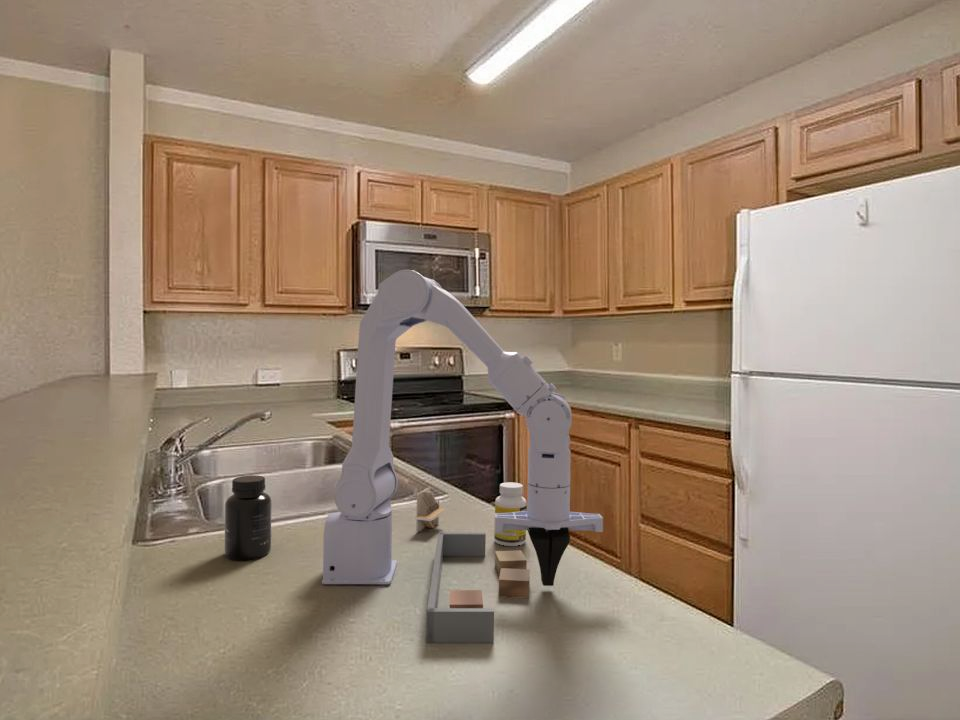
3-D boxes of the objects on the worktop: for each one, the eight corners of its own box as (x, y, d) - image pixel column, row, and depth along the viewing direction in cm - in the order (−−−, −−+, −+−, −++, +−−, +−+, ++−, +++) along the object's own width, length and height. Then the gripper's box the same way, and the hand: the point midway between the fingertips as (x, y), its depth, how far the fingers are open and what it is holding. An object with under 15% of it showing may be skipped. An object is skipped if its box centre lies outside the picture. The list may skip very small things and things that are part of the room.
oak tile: (499, 578, 81) (499, 561, 81) (494, 567, 85) (495, 551, 85) (526, 577, 81) (526, 560, 81) (520, 566, 85) (521, 550, 85)
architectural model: (446, 528, 104) (446, 488, 104) (431, 540, 97) (431, 497, 97) (429, 526, 105) (429, 486, 105) (413, 537, 99) (413, 495, 98)
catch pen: (426, 642, 62) (426, 611, 62) (438, 554, 89) (438, 532, 89) (493, 642, 63) (494, 611, 63) (485, 554, 90) (485, 532, 90)
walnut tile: (498, 598, 74) (498, 579, 74) (500, 585, 78) (500, 568, 78) (528, 599, 74) (529, 581, 74) (529, 587, 78) (529, 569, 78)
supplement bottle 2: (524, 548, 92) (524, 489, 92) (491, 545, 94) (492, 487, 93) (527, 537, 98) (528, 482, 98) (497, 535, 99) (497, 480, 99)
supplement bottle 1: (214, 557, 87) (214, 480, 86) (247, 543, 93) (248, 471, 93) (248, 564, 84) (248, 485, 84) (280, 550, 90) (281, 475, 90)
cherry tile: (449, 625, 67) (449, 604, 67) (450, 609, 71) (450, 590, 71) (482, 625, 67) (483, 604, 67) (481, 609, 71) (481, 590, 71)
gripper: (497, 490, 72) (495, 595, 72) (609, 491, 72) (607, 595, 72) (494, 477, 79) (492, 573, 79) (596, 478, 79) (595, 573, 80)
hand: (547, 582), depth 76 cm, fingers closed
